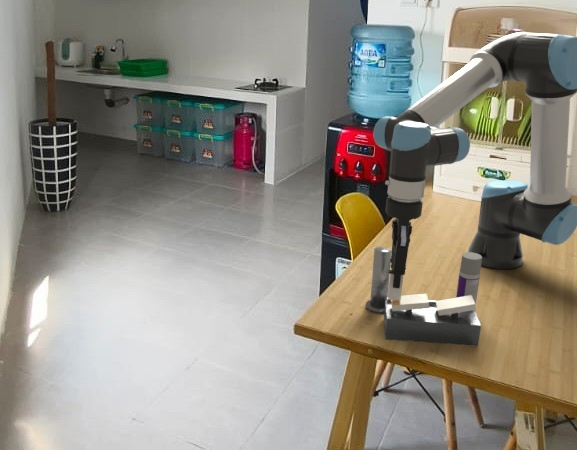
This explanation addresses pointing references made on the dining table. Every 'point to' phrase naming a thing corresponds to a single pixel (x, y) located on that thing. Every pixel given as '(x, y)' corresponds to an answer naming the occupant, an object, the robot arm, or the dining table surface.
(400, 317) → the grey channel rail
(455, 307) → the paddle
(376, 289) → the post
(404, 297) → the paddle
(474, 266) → the container
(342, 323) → the dining table surface
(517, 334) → the dining table surface
